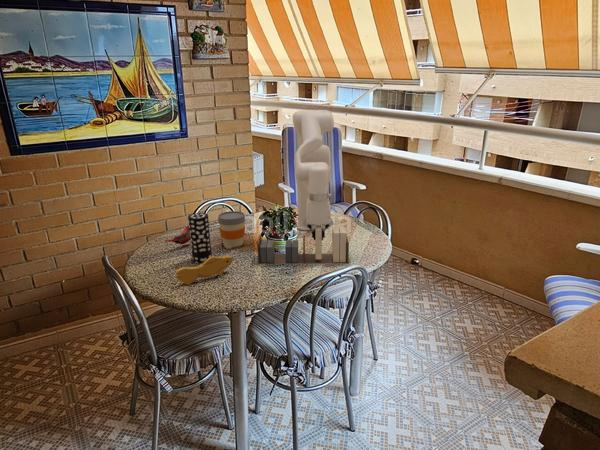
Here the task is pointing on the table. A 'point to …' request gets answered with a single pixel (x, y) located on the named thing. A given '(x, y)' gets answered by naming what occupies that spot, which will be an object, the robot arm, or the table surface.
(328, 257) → the book rack
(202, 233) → the white-spotted black cylinder
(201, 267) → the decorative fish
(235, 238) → the reusable coffee cup
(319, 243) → the cream book
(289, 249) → the grey books
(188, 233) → the decorative bird figurine
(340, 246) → the cream books
